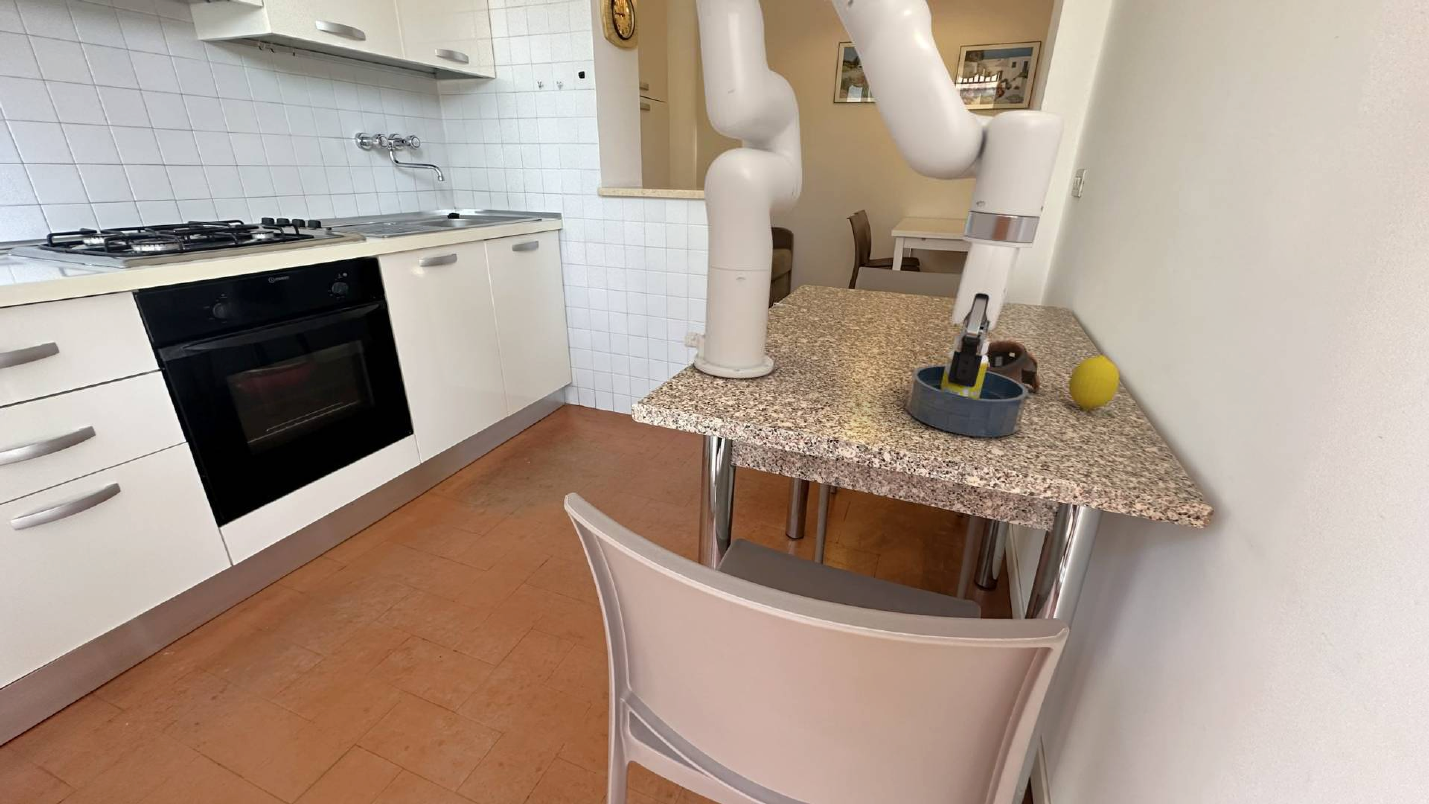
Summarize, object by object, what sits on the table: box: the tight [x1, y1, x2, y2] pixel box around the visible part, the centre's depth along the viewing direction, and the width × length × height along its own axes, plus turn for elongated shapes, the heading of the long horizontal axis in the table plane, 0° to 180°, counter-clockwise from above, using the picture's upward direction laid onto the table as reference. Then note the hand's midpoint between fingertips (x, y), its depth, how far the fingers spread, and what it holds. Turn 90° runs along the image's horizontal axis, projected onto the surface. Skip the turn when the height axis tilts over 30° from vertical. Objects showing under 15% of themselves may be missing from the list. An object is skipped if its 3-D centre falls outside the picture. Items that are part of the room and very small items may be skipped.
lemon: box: [1068, 354, 1120, 412], centre depth 78 cm, size 6×6×8 cm
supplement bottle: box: [940, 334, 990, 398], centre depth 73 cm, size 5×5×8 cm
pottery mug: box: [985, 339, 1041, 395], centre depth 86 cm, size 12×10×8 cm
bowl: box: [906, 364, 1029, 438], centre depth 74 cm, size 14×14×5 cm
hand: (963, 376), depth 73 cm, fingers closed on supplement bottle, 4 cm apart
